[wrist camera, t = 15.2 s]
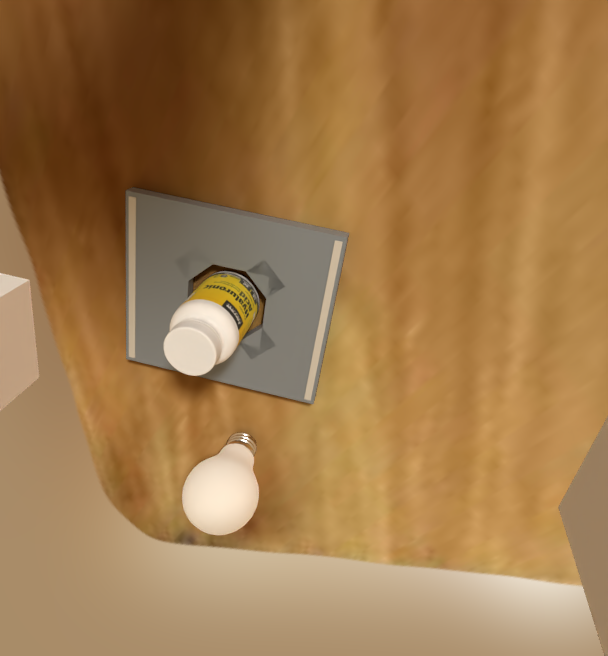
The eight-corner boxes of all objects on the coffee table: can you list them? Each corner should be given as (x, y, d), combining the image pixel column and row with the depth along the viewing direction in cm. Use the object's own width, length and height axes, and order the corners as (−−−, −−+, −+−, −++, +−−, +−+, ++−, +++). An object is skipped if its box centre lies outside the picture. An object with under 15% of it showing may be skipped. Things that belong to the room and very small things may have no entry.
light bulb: (246, 400, 51) (207, 481, 42) (291, 447, 53) (263, 535, 43) (200, 430, 54) (153, 512, 45) (244, 474, 56) (208, 562, 46)
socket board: (132, 186, 44) (125, 190, 43) (349, 233, 42) (347, 238, 41) (132, 352, 51) (125, 359, 50) (315, 396, 50) (313, 405, 49)
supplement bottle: (272, 294, 46) (240, 350, 37) (240, 336, 48) (202, 398, 40) (220, 256, 45) (174, 304, 36) (190, 301, 48) (140, 356, 39)
